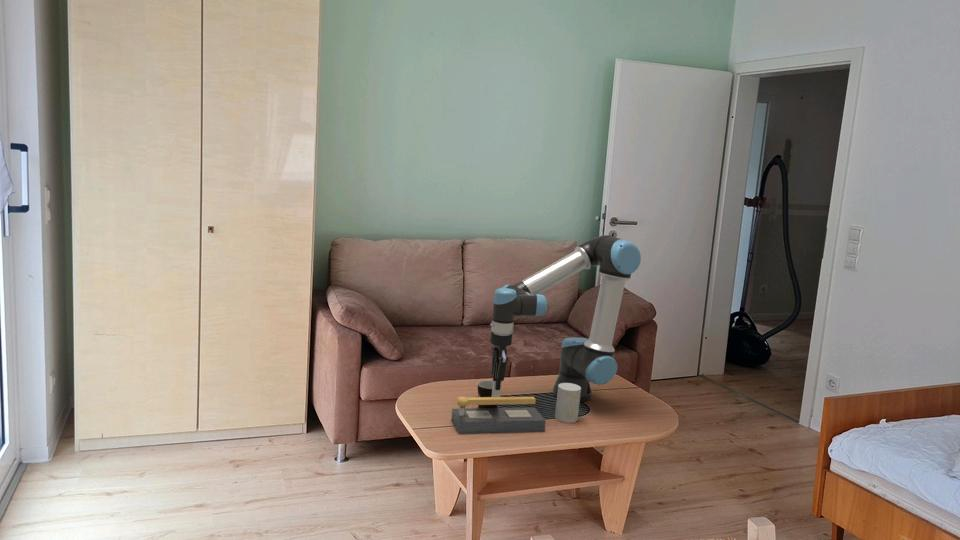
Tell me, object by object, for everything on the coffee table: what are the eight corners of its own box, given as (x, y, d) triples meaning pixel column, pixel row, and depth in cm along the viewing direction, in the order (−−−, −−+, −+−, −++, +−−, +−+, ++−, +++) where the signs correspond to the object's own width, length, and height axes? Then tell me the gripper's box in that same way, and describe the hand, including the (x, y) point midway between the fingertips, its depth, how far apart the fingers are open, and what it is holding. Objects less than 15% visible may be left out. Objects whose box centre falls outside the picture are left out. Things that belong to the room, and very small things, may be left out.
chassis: (533, 417, 260) (535, 398, 259) (544, 431, 249) (546, 410, 248) (451, 419, 253) (453, 399, 252) (458, 433, 241) (460, 412, 240)
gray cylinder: (563, 424, 257) (566, 391, 255) (550, 415, 264) (553, 383, 262) (582, 421, 261) (585, 389, 259) (569, 413, 268) (572, 382, 266)
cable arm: (458, 406, 244) (458, 400, 244) (456, 402, 247) (456, 396, 247) (535, 405, 251) (536, 399, 251) (532, 401, 254) (533, 395, 254)
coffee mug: (496, 416, 259) (499, 390, 257) (473, 413, 260) (475, 386, 258) (502, 405, 270) (504, 380, 268) (479, 402, 271) (481, 376, 270)
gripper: (486, 327, 258) (481, 390, 263) (496, 338, 246) (490, 404, 250) (506, 328, 260) (501, 390, 265) (517, 338, 248) (511, 404, 252)
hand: (495, 397), depth 257 cm, fingers closed
